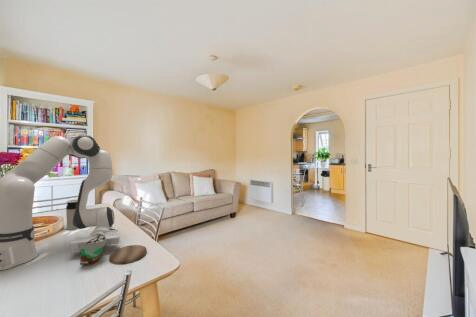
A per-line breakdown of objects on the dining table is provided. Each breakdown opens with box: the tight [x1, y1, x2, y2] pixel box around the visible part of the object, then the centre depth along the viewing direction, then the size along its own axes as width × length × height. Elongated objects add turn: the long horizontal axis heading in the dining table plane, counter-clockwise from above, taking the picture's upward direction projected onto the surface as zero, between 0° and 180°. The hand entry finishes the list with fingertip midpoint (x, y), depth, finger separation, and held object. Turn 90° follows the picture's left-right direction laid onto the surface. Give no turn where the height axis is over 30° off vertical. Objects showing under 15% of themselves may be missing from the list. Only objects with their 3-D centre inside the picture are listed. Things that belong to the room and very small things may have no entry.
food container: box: [79, 234, 106, 266], centre depth 99 cm, size 12×6×10 cm, turn 179°
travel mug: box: [65, 198, 79, 231], centre depth 142 cm, size 8×8×18 cm
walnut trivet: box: [108, 244, 148, 265], centre depth 104 cm, size 16×16×2 cm
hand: (92, 247), depth 99 cm, fingers closed
